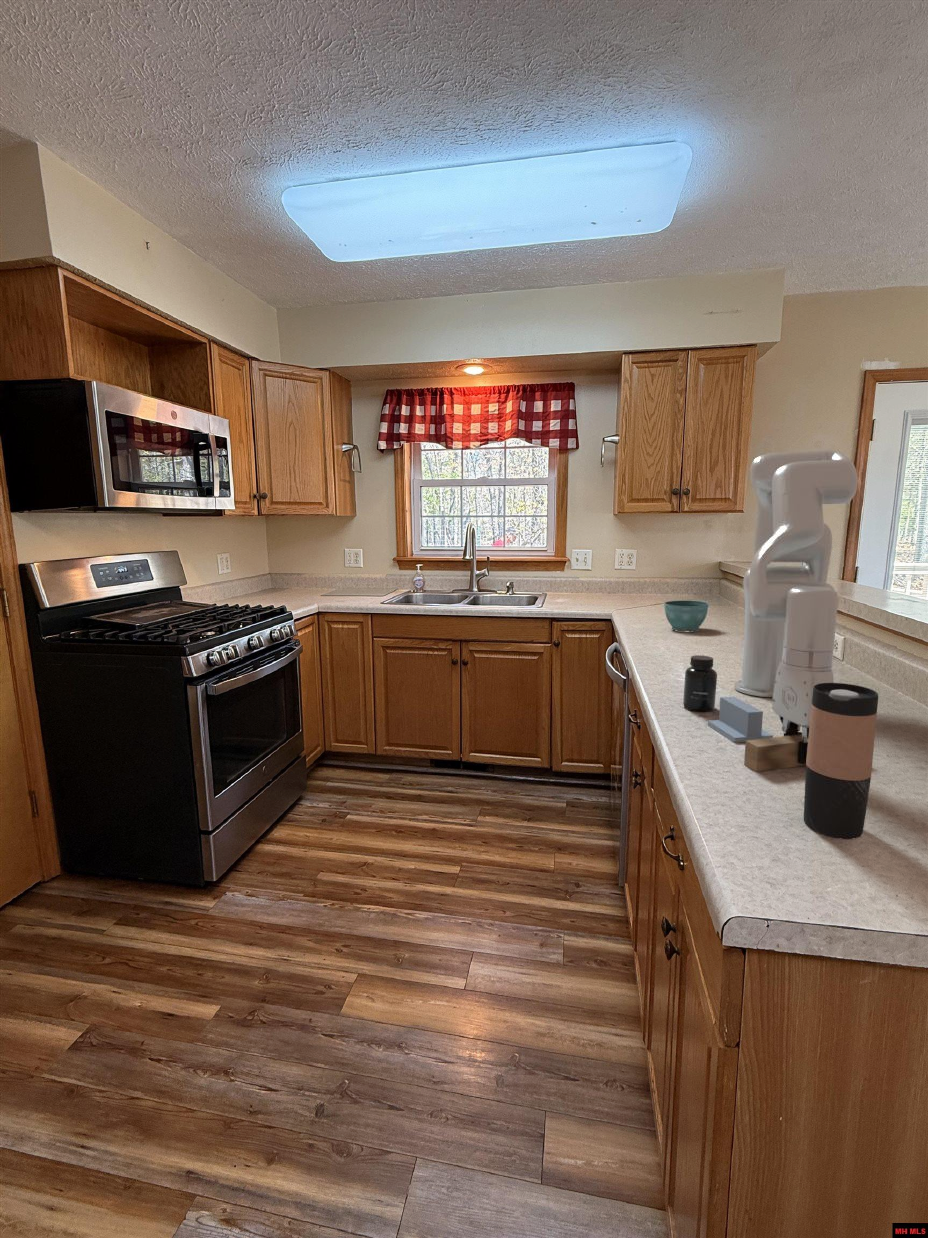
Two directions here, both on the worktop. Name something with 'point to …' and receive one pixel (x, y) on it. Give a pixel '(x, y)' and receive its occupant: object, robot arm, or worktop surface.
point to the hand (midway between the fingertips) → (799, 757)
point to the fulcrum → (739, 721)
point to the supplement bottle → (700, 684)
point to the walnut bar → (772, 753)
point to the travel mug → (839, 758)
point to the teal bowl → (686, 614)
